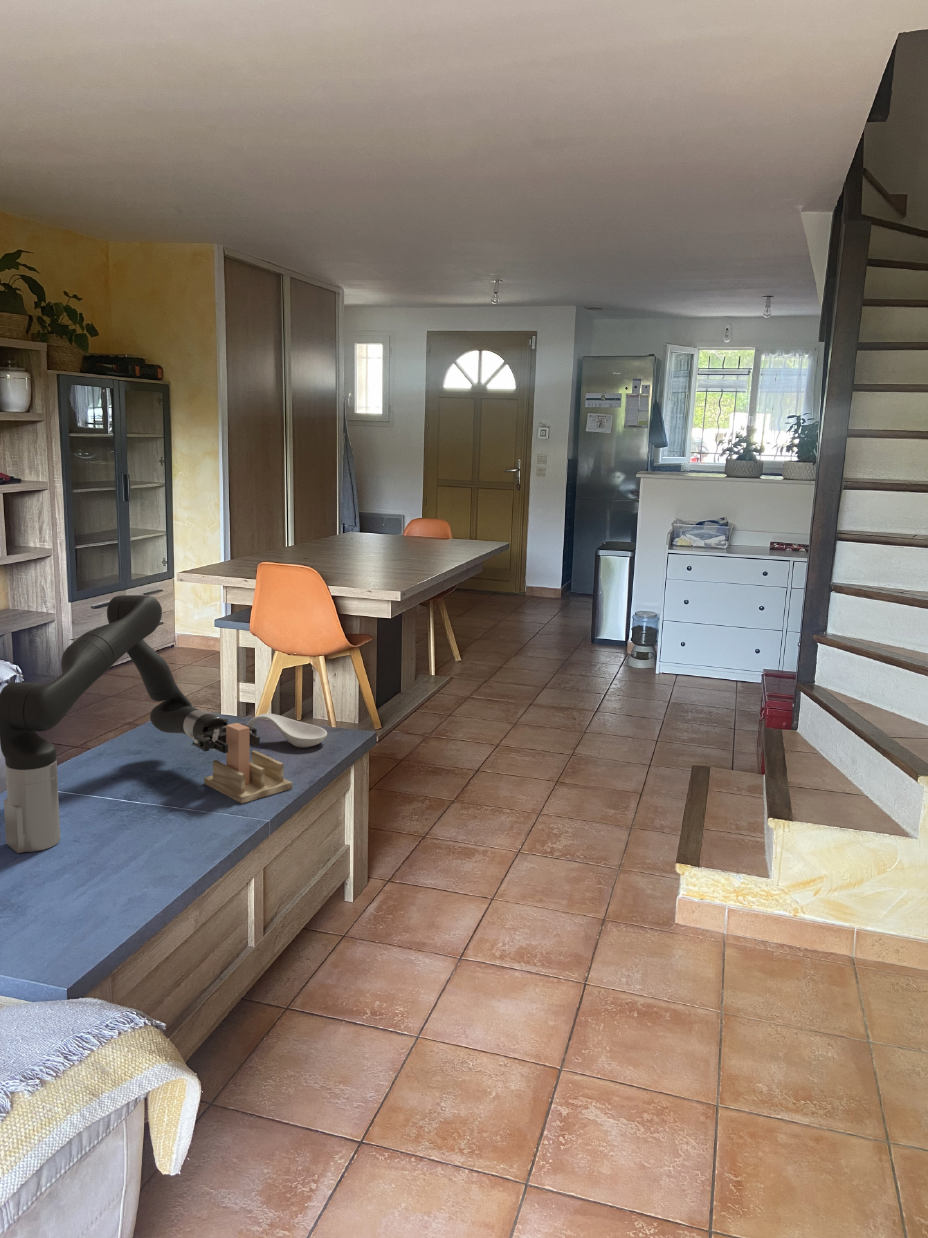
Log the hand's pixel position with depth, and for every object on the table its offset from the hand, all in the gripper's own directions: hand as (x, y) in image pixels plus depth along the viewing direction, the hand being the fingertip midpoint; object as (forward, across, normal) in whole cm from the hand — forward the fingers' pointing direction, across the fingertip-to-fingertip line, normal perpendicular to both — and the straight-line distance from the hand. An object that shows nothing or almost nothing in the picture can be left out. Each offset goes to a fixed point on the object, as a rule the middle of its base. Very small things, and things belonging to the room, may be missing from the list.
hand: (242, 745), depth 212 cm
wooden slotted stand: (-2, +3, +11) cm, 12 cm away
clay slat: (-2, 0, +10) cm, 10 cm away
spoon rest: (-23, +28, +12) cm, 38 cm away
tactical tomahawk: (-40, +18, +12) cm, 46 cm away
